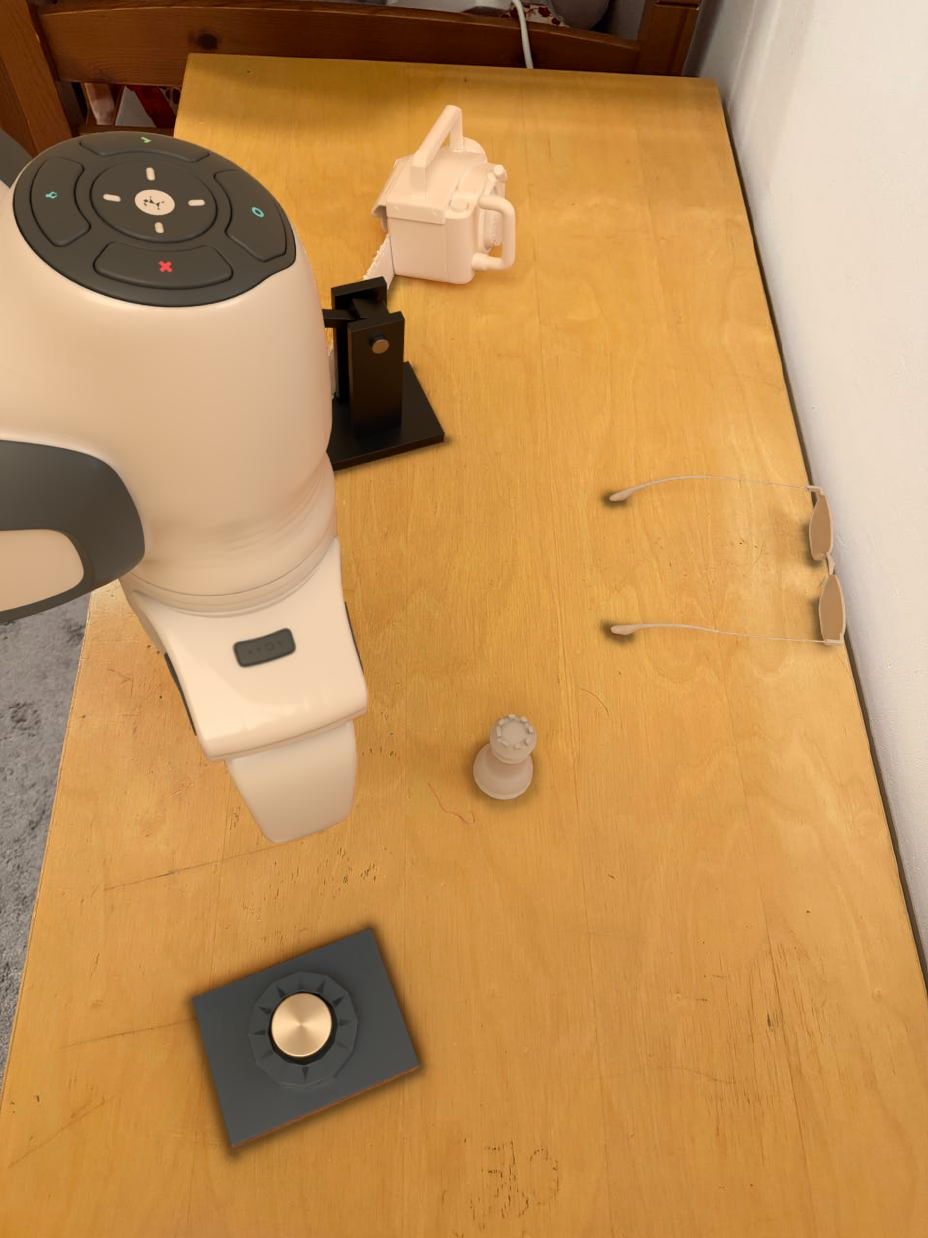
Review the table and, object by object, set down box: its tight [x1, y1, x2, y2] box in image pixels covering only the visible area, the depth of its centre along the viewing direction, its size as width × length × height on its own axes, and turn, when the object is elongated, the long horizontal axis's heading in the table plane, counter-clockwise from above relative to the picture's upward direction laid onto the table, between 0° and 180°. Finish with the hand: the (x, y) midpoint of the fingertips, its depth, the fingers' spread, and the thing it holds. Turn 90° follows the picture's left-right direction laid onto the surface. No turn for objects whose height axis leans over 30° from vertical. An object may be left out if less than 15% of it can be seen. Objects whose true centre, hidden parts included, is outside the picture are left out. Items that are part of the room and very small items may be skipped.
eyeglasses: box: [608, 475, 847, 647], centre depth 84 cm, size 15×18×4 cm
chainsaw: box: [327, 104, 516, 398], centre depth 93 cm, size 15×35×12 cm, turn 164°
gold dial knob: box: [271, 993, 333, 1060], centre depth 61 cm, size 4×4×2 cm
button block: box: [191, 927, 420, 1149], centre depth 63 cm, size 12×9×4 cm
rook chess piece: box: [472, 713, 538, 801], centre depth 72 cm, size 4×4×8 cm
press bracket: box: [326, 276, 446, 473], centre depth 85 cm, size 11×9×14 cm
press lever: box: [322, 299, 390, 331], centre depth 77 cm, size 16×6×2 cm, turn 112°
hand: (258, 688), depth 52 cm, fingers closed
